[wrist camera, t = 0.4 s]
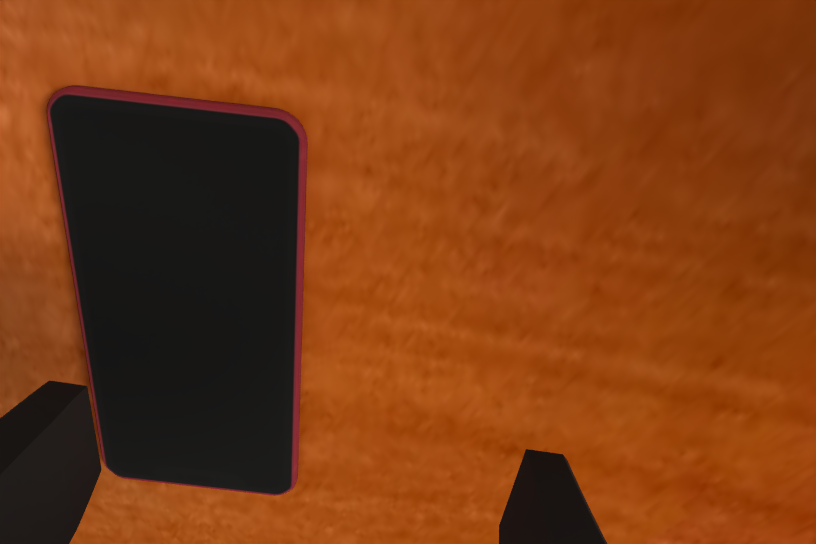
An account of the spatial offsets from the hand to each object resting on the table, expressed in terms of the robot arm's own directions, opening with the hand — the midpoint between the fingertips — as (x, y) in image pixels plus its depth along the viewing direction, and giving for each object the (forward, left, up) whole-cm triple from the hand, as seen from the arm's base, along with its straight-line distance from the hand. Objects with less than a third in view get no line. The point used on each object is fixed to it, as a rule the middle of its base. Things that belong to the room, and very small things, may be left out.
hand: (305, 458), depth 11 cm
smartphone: (-7, +3, -11) cm, 13 cm away
